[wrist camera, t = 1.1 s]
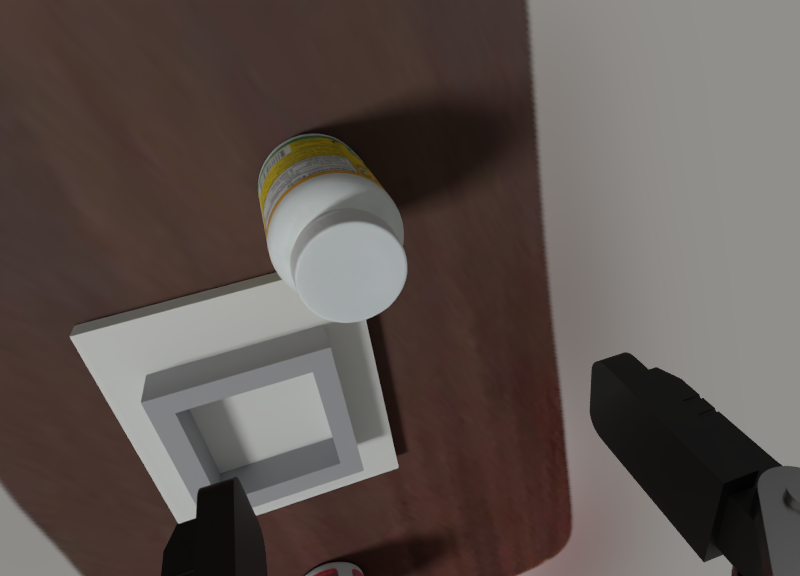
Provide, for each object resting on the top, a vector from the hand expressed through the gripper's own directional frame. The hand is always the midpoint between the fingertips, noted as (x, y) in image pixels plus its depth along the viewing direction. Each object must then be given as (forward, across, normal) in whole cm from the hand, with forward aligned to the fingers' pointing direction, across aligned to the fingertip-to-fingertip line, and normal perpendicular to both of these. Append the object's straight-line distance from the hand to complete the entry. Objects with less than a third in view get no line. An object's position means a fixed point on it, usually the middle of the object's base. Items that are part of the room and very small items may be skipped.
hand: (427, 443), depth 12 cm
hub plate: (+18, +6, +12) cm, 22 cm away
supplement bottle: (+18, 0, 0) cm, 18 cm away
